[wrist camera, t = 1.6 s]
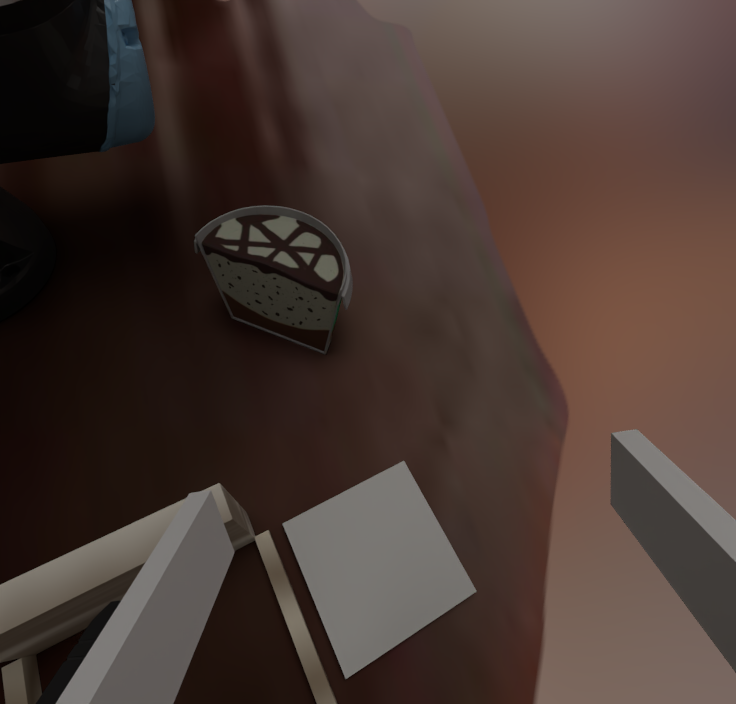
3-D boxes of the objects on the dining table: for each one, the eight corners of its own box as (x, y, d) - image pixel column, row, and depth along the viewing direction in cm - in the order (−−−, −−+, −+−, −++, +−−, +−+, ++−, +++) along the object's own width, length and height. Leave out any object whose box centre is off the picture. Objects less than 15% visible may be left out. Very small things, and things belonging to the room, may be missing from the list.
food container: (366, 309, 41) (379, 233, 32) (341, 361, 38) (348, 292, 29) (249, 265, 42) (231, 180, 33) (216, 312, 39) (187, 232, 30)
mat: (283, 525, 31) (282, 523, 30) (401, 464, 34) (403, 460, 33) (344, 676, 27) (345, 679, 26) (472, 591, 30) (476, 591, 29)
